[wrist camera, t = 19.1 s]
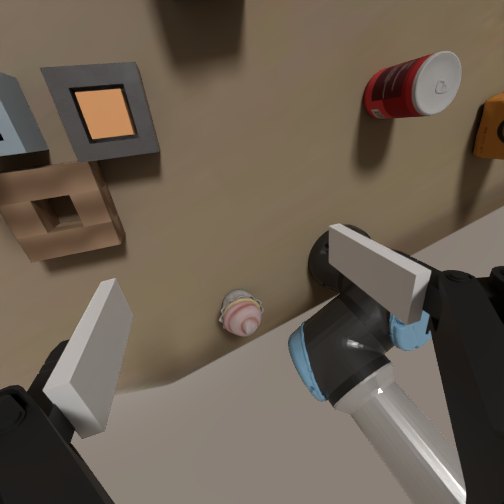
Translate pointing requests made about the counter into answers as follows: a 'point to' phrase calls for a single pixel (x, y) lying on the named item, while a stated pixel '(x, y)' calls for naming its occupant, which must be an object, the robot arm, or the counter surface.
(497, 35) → the counter surface
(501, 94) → the coffee package
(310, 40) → the counter surface
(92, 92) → the orange square block
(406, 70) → the canned food
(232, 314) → the cupcake
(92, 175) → the socket block
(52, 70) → the housing
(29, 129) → the blue square collar
